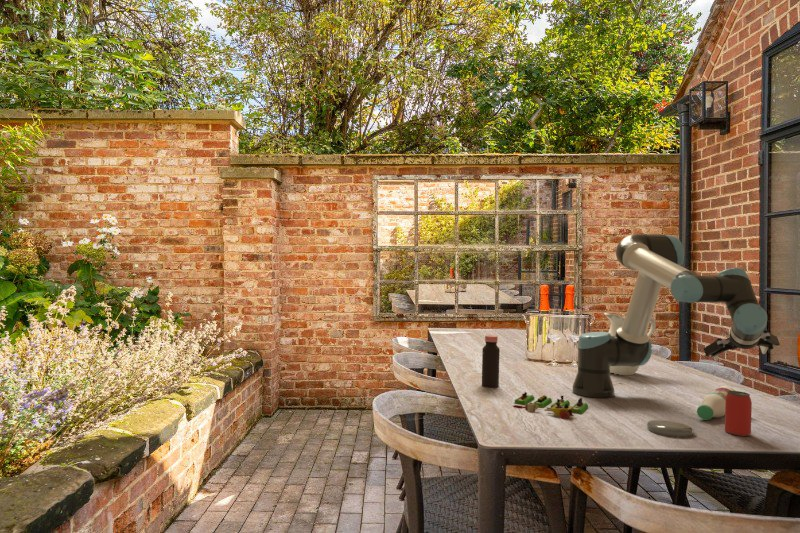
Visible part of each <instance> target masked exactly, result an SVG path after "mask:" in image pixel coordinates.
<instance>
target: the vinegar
mask: <svg viewBox="0 0 800 533" xmlns="http://www.w3.org/2000/svg"><path fill="white" fill-rule="evenodd" d="M484 341H485V345H484V346H483V347H482V357H481V358H482V359H481V385H482V387H485V388H498V387H499V385H500V348H499V346H498V345H497V344H498V335H491V334H490V335H489V334H488V335H487V334H486V335H485V336H484Z"/></svg>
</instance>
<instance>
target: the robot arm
mask: <svg viewBox="0 0 800 533" xmlns="http://www.w3.org/2000/svg"><path fill="white" fill-rule="evenodd" d="M615 248H616V249H615V256H616V259H617V261H618V263H619V264H621V265H622V266H623V267H625V268H627V269H628V270H630V271H637V272H638V274H637V278H636V280H635V284H634V287H633V290H632V294H631V298H630V301H629V304H628V307H627V310H626V314H625V316H624V317H625V320H624V323H623V326H622V327H619V328H618V329H617V332H616V335H615V336H611V334H610V333H608V332H609V331H608V332H607V331H591V332H585V333H582V334H581V335H579V337H578V343H577V373H576V375H575V378H574V381H573V384H572V393H574V394H575V395H579V396H583V397H587V398H596V399H597V398H598V399H600V398H601V399H602V398H603V399H605V398H606V399H607V398H612V397H614V396H615V387H614V383H613V381H612V377H611V373H610V366H630V367H634V366H639V367H641V366H644V365H646V364H647V363H648V362H649V361H650V359H651V357H652V355H653V354H652V353H653V350H652V347H653V346H652V342H651V340H650V337H648V335H647V334H648V330H649V326H650V324H651V321H650V320H651V317H653V314H654V311H655V308H656V304H657V301H658V298H659V295H660V292H661V289H662V287H663V286H664V287H666V289H667V288H668V289H669V290H670V293H671V295H672V297H673V299H675V301H677V302H682V303H687V304H692V303H714V304H715V303H719V304H721V303H723V304H725V306H726V308H727V311H728V313H729V316H730V318H731V321H732V322H731V323H732V324H731V326H730V329H729V330H730V331H729V335H728V338H726V339H722V338H721V337H718V338H716V340H715V341H713V342H711V343H710V344H708V345H707V346H705V347H703V351H704V354H705V357H709V356H710V357H711V358H713V360H714V362H718V360H719V355H720V354H721V353H724V352H726V351H729V350H732V351H733V350H735V349H736V350H737V349H741V350H750V349H752V348H755V347H758V346H759V348H760V350H761V353H762V355H765V354H766V353H767V351H768V349H769V350H774V346H780V345H781V344H780V342H779V339H778V336H777V335H774V334H772V333H771V332H769V330H768V329H767V330H765V329H766V327H767V325H768V323H767V322H768V314H767V311H766V310H765V309H764V308H763V307H762V306H761V305H760V303H759V302H758V299H757V297H756V294H755V291H754V287H753V285H752V281H751V279H750V278H749V275H748V273H747V271H746V270H745V269H743V268H740V267H733V268H727V269H726V268H725V269H724V270H721V271H720V272H718V274H716V275H700V274H697V273H695V272H694V271H691V270H689V269H687V268H685V267H683V266H682V265H683V263H684V260H685V259H684V258H685V249H684V246H683V243H682V242H681V240H680V239H679V238H678V237H676V236H674V235H669V234H645V233H644V234H643V233H642V234H641V233H634V234H629V235H626V236H625V237H623V238H622V239H621V240H620V241H619V242H618V243H617V245H616V247H615Z"/></svg>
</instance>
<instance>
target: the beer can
mask: <svg viewBox="0 0 800 533" xmlns="http://www.w3.org/2000/svg"><path fill="white" fill-rule="evenodd" d="M752 403H753V402H752V399H751V394H750V393H748V392H744V391H739V390H735V391H728V394H727V396H726V402H725V415H724V431H725V432H726V433H728V434H730V435H733V436H738V437H749V436H750V435H751V434H752V406H753V404H752Z"/></svg>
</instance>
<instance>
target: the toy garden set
mask: <svg viewBox="0 0 800 533" xmlns="http://www.w3.org/2000/svg"><path fill="white" fill-rule="evenodd" d="M564 398H565V397H564V395H560V399H559V398H557V399H556V401H555V402H554V403H553V404H551V403H552V401H553V400H552V398H551V397H547V395H541V396H540V397H539V398H537V400H535V396H534V395H533V394H528V392H526V391H524V392H523V393H522V395H521V396H519V397H518V398H515V399H514V405H513V407H514V408H519V409H525V410H526V411H528V412H535V411H536V410H541V411H543V408H544V412H552V413H553V414H554V416H555V417H558V418H559V417H560V419H566V420H568V419H569V418H570V416H572V415H573V414H579V415H582V414H583V413H584V412H586V410H588V408H589V404H588V402H583V398H582V397H580V398H579V399H578V402H576V403H575V404H574V405H572V406H570V405H571V403H570V401H569V399H568V400H564ZM532 401H533V402H532ZM516 404H517V405H516ZM518 404H519V405H518ZM549 404H551V406H550V407H547V406H548V405H549ZM523 405H524V406H523ZM545 407H546V408H545ZM540 408H542V409H540Z"/></svg>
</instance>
